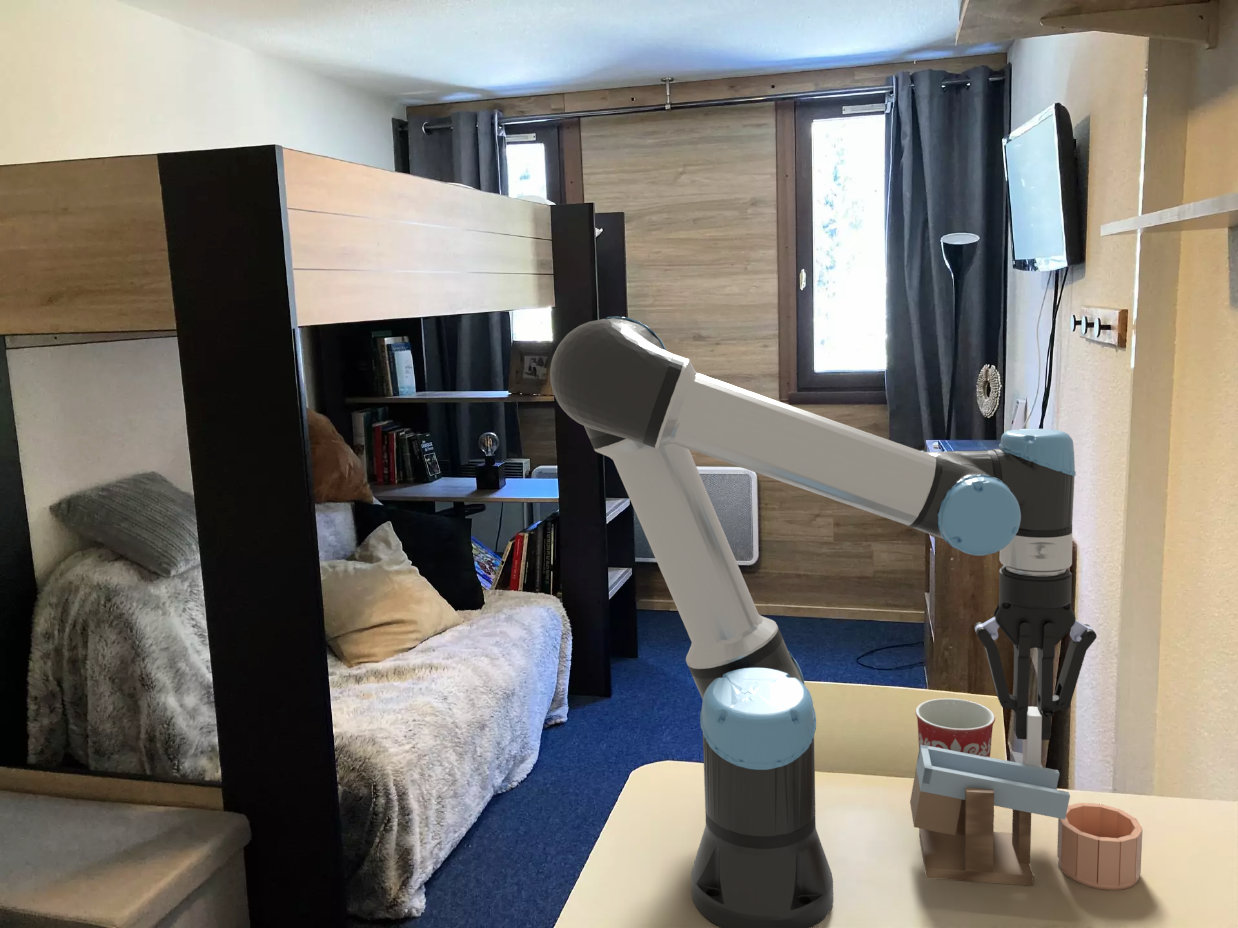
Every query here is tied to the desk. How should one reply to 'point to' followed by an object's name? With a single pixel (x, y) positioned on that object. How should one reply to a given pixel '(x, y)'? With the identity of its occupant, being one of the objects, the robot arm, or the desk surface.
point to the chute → (954, 771)
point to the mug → (955, 725)
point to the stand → (980, 845)
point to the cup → (1100, 846)
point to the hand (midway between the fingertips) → (1031, 763)
